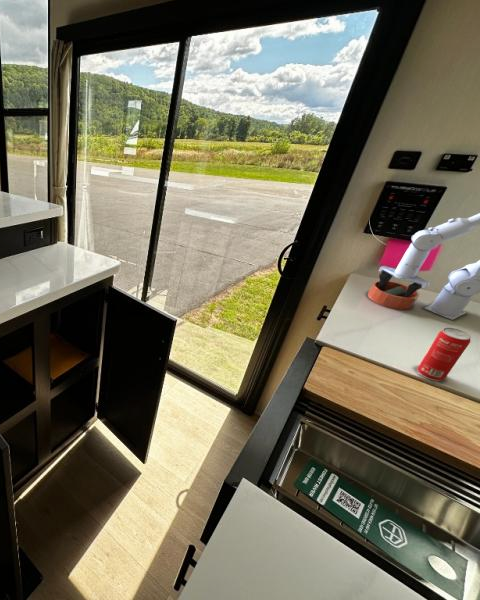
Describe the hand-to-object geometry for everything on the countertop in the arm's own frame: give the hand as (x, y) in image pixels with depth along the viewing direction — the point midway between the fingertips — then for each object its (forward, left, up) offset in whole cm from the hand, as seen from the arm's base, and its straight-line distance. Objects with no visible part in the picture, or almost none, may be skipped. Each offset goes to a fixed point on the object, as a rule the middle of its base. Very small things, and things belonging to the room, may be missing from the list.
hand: (392, 295), depth 122 cm
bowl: (0, 0, -2) cm, 2 cm away
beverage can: (+34, +27, -2) cm, 43 cm away
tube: (0, 0, -2) cm, 2 cm away
